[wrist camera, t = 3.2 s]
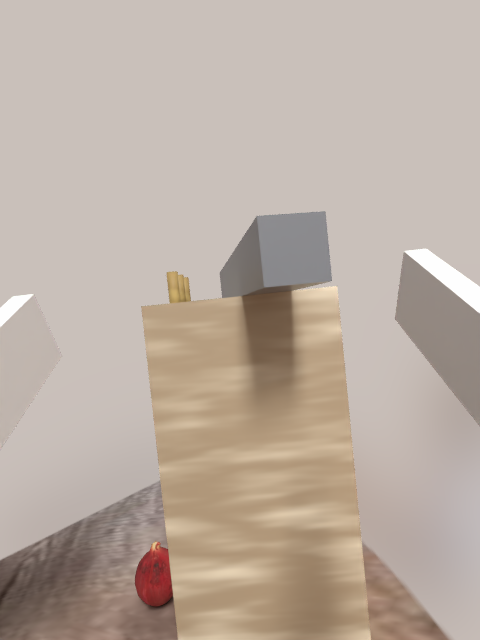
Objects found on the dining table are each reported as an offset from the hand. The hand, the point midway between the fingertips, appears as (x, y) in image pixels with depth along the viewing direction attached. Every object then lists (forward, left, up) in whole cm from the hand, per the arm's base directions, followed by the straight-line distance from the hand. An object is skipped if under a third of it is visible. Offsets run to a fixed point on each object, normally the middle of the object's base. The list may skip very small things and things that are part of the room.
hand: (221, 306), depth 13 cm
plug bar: (-17, +12, +1) cm, 21 cm away
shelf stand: (-20, +12, -37) cm, 44 cm away
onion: (-35, +4, -37) cm, 51 cm away
